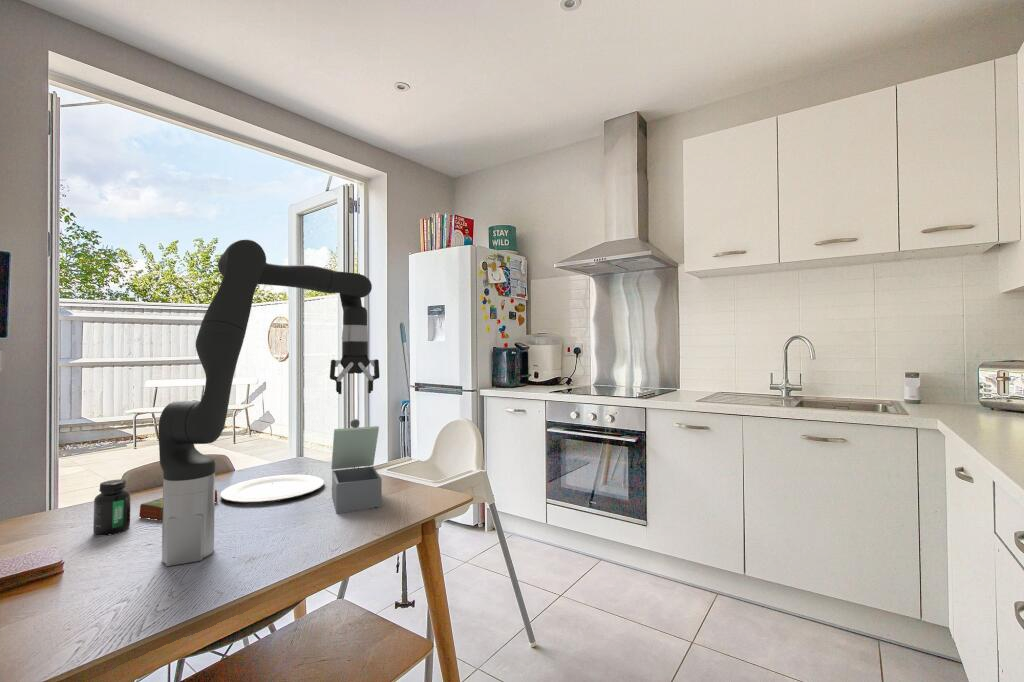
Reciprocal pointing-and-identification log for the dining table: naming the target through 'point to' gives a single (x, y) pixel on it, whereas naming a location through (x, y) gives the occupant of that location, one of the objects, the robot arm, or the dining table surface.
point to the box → (356, 489)
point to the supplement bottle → (112, 508)
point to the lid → (354, 446)
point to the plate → (272, 488)
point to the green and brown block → (155, 509)
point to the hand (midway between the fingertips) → (354, 393)
